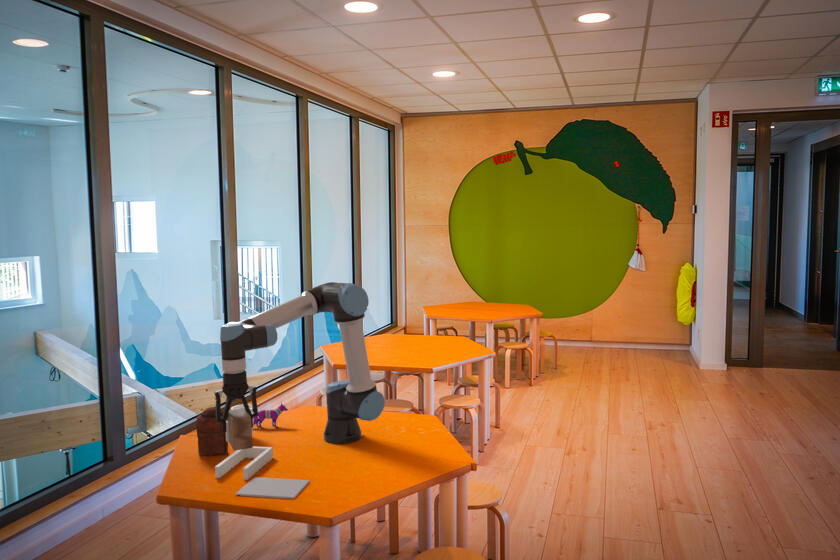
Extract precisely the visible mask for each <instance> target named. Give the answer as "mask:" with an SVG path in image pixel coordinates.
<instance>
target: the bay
mask: <svg viewBox="0 0 840 560" xmlns="http://www.w3.org/2000/svg"><path fill="white" fill-rule="evenodd" d="M273 448H274V447H273V446H256V445H255V446H253V448H248V449H242V450H236V451H233V453H231V454H230V455H228V456H227V457H226V458H225V459H223V460H222V461H221V462H219V463H218V464H217V465H215V466H214V472H215V473H214V475H215V476H214V477H215V478H216V479H221V478H222V477H223V476H224V475H225V474H226V473H228V472H229V471H230V470H232V469H233V468H234V467H236V466H237V465H238V464H240V463H241V462H242V461H243V460H245V459H253V460H251V461H250V462H249V463H248V464H247V465H245V466H244V467H242V470H243V472H242V473H243V474H242V475H243V480H244V481H245V480H246V481H247V480H250V478H252V477H253V476H254V475H256V474H257V472H259V471H260V470H261V469H263V467H264V466H266V464H268V463H269V462H270V461H272V459H274V449H273ZM240 461H241V462H240ZM267 462H268V463H267ZM235 465H236V466H235ZM231 468H232V469H231ZM259 469H260V470H259Z"/></svg>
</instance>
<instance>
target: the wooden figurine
mask: <svg viewBox="0 0 840 560" xmlns="http://www.w3.org/2000/svg"><path fill="white" fill-rule="evenodd" d="M223 411H224V410H223V409H221V417H222V415H223ZM195 426H196V437H197V451H198V455H199V456H220V455H222V456H223V455H224V456H225V455H228V452H229V442H227V441H226V432H223V430H222V422H217V420H216V406H210V407H206V408H205V409H204V410H202V412H201V413H200V414H199V415H197V417H196V425H195Z"/></svg>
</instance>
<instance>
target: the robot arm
mask: <svg viewBox="0 0 840 560" xmlns="http://www.w3.org/2000/svg"><path fill="white" fill-rule="evenodd" d="M369 303H370V302H369V296H368V293H367V291H366V290H365V289H364V288H363V287H362V286H360V285H359V284H354V283H349V282H348V283H347V282H346V283H345V282H333V281H331V282H324V283H322V284H320V285H317V286H314V287H312V288H310V289H308V290H304V291H303V292H302V293H301V294H300V296H298V297H295V298H293V299H291V300H287V301H285V302H284V303H281V304H279V305H276V306H274V307H271V308H269V309H267V310H264V311H261V312H260V313H257V314H255V315H253V316H250V317H247V318H245V319H242V320H240V321H236V320H235V321H230V322H228V323H225V324H222V325H221V326H220V332H219V333H220V336H219V337H220V338H219V341H220V349H221V350H220V351H221V363H222V364H221V365H222V371H223V373H222V382H223V383H222V384H223V385H222V387H221V389H219V390H214V391H213V393H214V397H215V407H216V420H217V422H222V430H223V432H226V441H227V442H228V443H229V442H230V440H229V423H228V421H227V417H228V413H229V410H231V404H232V403H233V400H241V402H242V404H243V405H244V408H245V410H246V411H247V412H248V414H249V415H250V417H251V426H252V428H253V429H254V426H253V418H254V417H255V416H258V412H259V411H258V403H257V395H256V394H257V389H258V388H257V387H256V386H255V385H249V384H248V377H247V376H248V375H247V370H246V369H247V363H246V362H247V361H246V360H247V359H246V352H247V351H253V350H258V349H264V348H269V347H272V346H275V345H276V344H277V341H278V338H279V337H278V331H277V329H278V328H280V327H283V326H285V325H288V324H290V323H292V322H294V321H297V320H299V319H301V318H303V317H306V316H308V315H309V316H314V315H315V316H316V314H317V315H318V314H320V313H331V314H333V321H334V323H336V324H337V325H338V326H339V331H340V336H341V337H340V338H341V342H342V343H341V344H342V349H343V355H344V360H345V365H346V367H345V368H346V373H347V378H348V379H346V380H345V379H344V380H339V381H338V380H337V381H333V382H330V383H328V384H327V386H326V392H325V394H326V410H327V411H326V413H327V421H326V424H325V428H324V431H323V440H324V441H325V442H328V443H330V444H338V445H339V444H348V443H349V444H350V443H354V442H357V441H359V440H360V439H361V438H362V429H361V427H360V424H359V421H358V419H359V420H361V421H366V422H371V421H374V420H376V419H378V418H379V417H380V416H381V414H382V412H383V411H384V408H385V402H386V401H385V396H384V395H383V393H381V392H380V391H378V388H377V383H376V381H374V380H373V379H372V377H371V370H370V366H369V365H370V364H369V358H368V357H369V356H368V352H367V346H366V341H365V335H364V328H363V322H362V321H363V320H364V318H365V313H366V311H367V310H368V306H369ZM248 391H249V393H250V398H251V405H252V408H253V413H251V411H250V409H249V406H248V404H249V403H248V401H247V398H246V393H247V392H248ZM223 394H224V395H225V396H226V399H225V404H224V408H223V410H222V408H221V406H222V400H221V399H222V396H223ZM221 410H222V411H223V415H222V417H221Z"/></svg>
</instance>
